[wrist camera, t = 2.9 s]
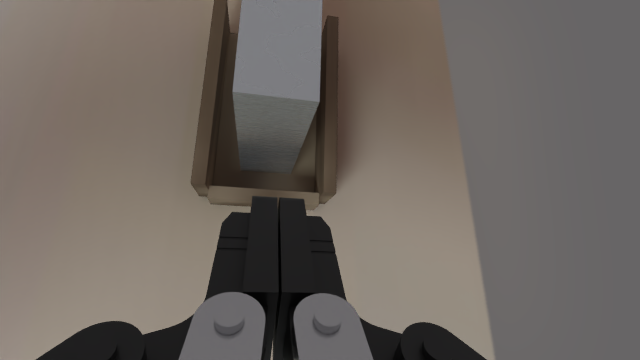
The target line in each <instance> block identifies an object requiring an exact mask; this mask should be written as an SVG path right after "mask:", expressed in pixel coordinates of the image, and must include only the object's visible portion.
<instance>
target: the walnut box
mask: <svg viewBox="0 0 640 360" xmlns="http://www.w3.org/2000/svg"><path fill="white" fill-rule="evenodd" d="M237 42H238V34H234V33H230V29H229V18H228V7H227V0H214V6H213V14H212V21H211V29H210V37H209V45H208V52H207V60H206V68H205V76H204V83H203V91H202V99H201V107H200V114H199V122H198V130H197V138H196V145H195V153H194V161H193V169H192V176H191V185H192V186H193V187H194V189H195V190H196V192H197V193H198V195H199V196H206V197H207V198H208V200H209V202H210V203H211V204H218V205H235V206H251V204H252V196H264V197H277V200H278V202H279V197H282V198H298V199H304V201H305V209H306V210H314V209H315V208H316V207H317V206H318V205H319V204H325V203H326V202H327V201H328V200H329V199H331V198H332V197H333V196H334V195H335V194H336V167H337V87H338V17H333V16H327V19H326V22H325V26H324V29H323V32H322V36H321V69H320V102H319V105H318V107H317V110H316V112H315V115H314V117H313V120H312V122H311V125H310V127H309V130H308V132H307V135H306V137H305V140H304V142H303V145H302V147H301V150H300V152H299V155H298V157H297V160H296V162H295V165H294V167H293V170H292V172H291V174H281V173H268V172H255V171H242V170H241V168H240V159H239V149H238V140H237V130H236V121H235V112H234V102H233V93H232V90H233V81H234V71H235V61H236V52H237Z"/></svg>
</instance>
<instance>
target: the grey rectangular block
mask: <svg viewBox="0 0 640 360" xmlns="http://www.w3.org/2000/svg"><path fill="white" fill-rule="evenodd" d="M321 32H322V0H242V3H241V13H240V23H239V32H238V42H237V52H236V61H235V71H234V81H233V90H232V93H233V102H234V112H235V121H236V130H237V140H238V149H239V159H240V168H241V170H242V171H255V172H268V173H281V174H291V172H292V170H293V167H294V165H295V162H296V160H297V157H298V155H299V152H300V150H301V147H302V145H303V142H304V140H305V137H306V135H307V132H308V130H309V127H310V125H311V122H312V120H313V117H314V115H315V112H316V110H317V107H318V105H319V102H320V69H321Z"/></svg>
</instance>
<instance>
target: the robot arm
mask: <svg viewBox="0 0 640 360" xmlns="http://www.w3.org/2000/svg"><path fill="white" fill-rule="evenodd" d="M272 341H273V360H486V359H485V358H484V357H482V356H481V355H480V354H478V353H477V352H476V351H474V350H473V349H472V348H471V347H469V346H468V345H467V344H465V343H464V342H463V341H461V340H460V339H459V338H457V337H456V336H455V335H453V334H452V333H451V332H449V331H448V330H446V329H444V328H442V327H440V326H438V325H435V324H432V323H426V322H420V323H414V324H412V325H410V326H408V327H407V328H406V329H405V330H404V332H403V334H400V333H397V332H394V331H390V330H387V329H383V328H380V327H377V326H374V325H372V324H370V323H368V322H366V321H364V320H363V319H361V318H360V317H359V316H358V314H357V312H356V310H355V309H354V308H353V307H352V305H351V304H350V303H348V302H347V300H346V297H345V293H344V288H343V284H342V279H341V275H340V270H339V266H338V261H337V257H336V254H335V248H334V243H333V239H332V234H331V230H330V227H329V226H328V225H327V224H326V222H325V221H324V220H323V219H322V218H321V217H318V216H306V209H305V201H304V199H298V198H282V197H279V202H278V200H277V197H264V196H252V204H251V213H241V212H232V213H231V214H230V215H229V216H228V217H227V218H226V219H225V220H224V221H223V223H222V226H221V230H220V235H219V240H218V244H217V250H216V253H215V258H214V263H213V267H212V272H211V276H210V281H209V285H208V290H207V295H206V298H205V300H204V302H203V303H202V304H201V305H200V306H199V307H198V309H197V310H196V312H195V314H193V315H192V316H191V317H190V318H188V319H187V320H185V321H183V322H182V323H179V324H177V325H175V326H172V327H169V328H166V329H162V330H158V331H155V332H151V333H148V334H144V335H142V333H141V332H140V331H139V330H138V328H136V327H135V326H133V325H131V324H129V323H126V322H121V321H109V322H103V323H98V324H95V325H92V326H89V327H87V328H85V329H83V330H81V331H79V332H78V333H76V334H74V335H73V336H71V337H70V338H68V339H67V340H65V341H63V342H62V343H60V344H59V345H57V346H56V347H54V348H53V349H51V350H50V351H48V352H47V353H45V354H44V355H42V356H41V357H39V358H37V359H36V360H270V358H271V349H272Z"/></svg>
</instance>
